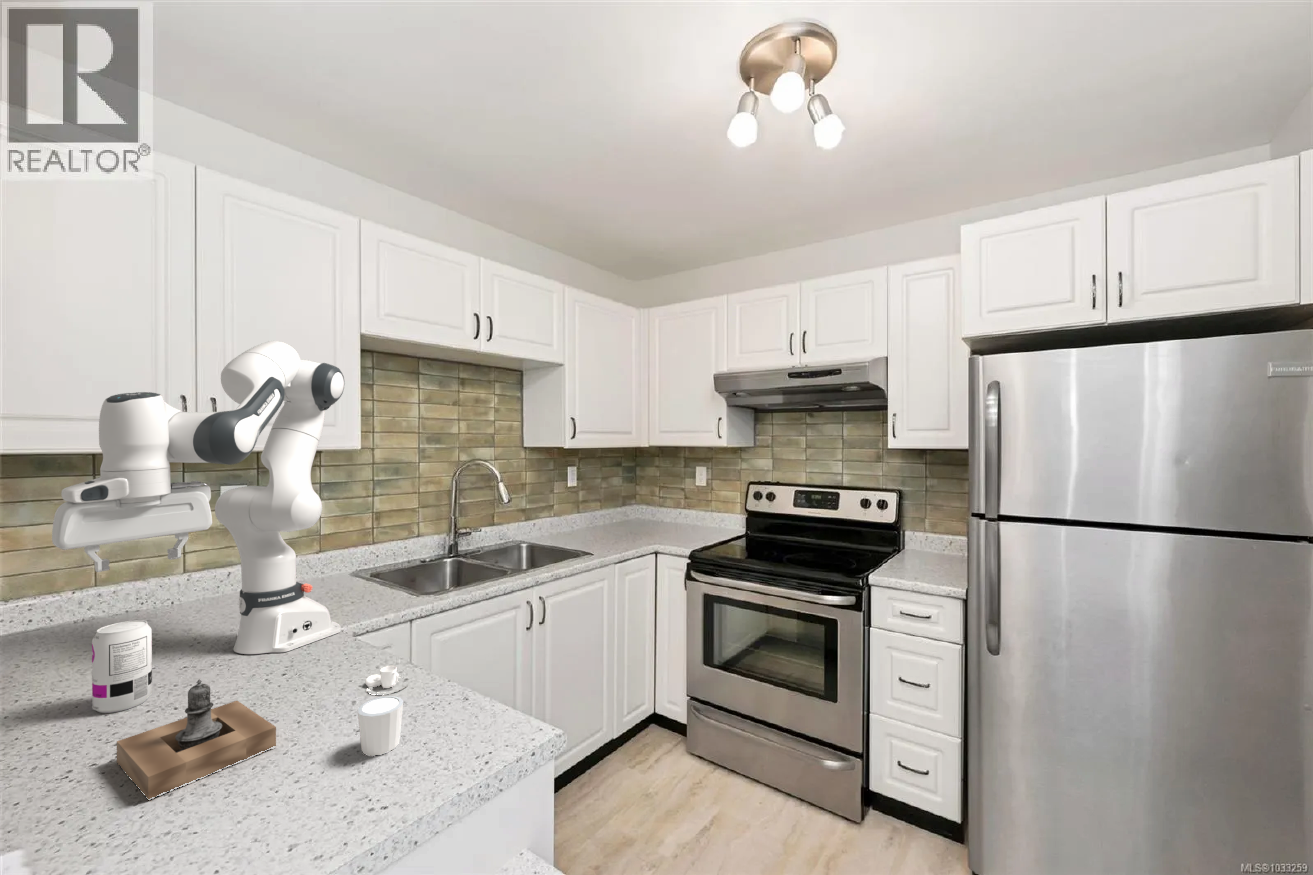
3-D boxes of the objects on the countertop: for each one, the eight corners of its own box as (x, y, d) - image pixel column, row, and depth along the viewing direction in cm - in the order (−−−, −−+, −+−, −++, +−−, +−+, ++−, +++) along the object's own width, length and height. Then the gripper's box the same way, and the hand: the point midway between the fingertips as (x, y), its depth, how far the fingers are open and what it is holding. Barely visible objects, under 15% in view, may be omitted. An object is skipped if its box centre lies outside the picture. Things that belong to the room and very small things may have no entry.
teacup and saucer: (359, 687, 114) (359, 667, 114) (399, 675, 120) (399, 656, 119) (373, 702, 108) (373, 681, 108) (415, 688, 113) (415, 669, 113)
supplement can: (80, 717, 101) (80, 636, 101) (111, 696, 109) (111, 621, 109) (134, 711, 103) (134, 632, 103) (161, 691, 111) (160, 617, 111)
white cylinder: (391, 730, 97) (391, 691, 97) (410, 745, 92) (410, 703, 92) (350, 748, 91) (350, 706, 91) (368, 764, 87) (368, 720, 87)
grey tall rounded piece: (195, 765, 86) (195, 689, 86) (165, 761, 87) (165, 685, 87) (231, 744, 92) (231, 673, 92) (202, 740, 93) (202, 670, 93)
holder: (237, 719, 100) (237, 700, 100) (276, 747, 91) (275, 726, 91) (116, 763, 87) (116, 741, 87) (148, 801, 78) (148, 777, 78)
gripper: (203, 478, 106) (206, 549, 106) (47, 490, 89) (51, 575, 89) (217, 480, 102) (219, 554, 103) (56, 493, 85) (60, 582, 86)
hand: (139, 564), depth 96 cm, fingers open, 8 cm apart
